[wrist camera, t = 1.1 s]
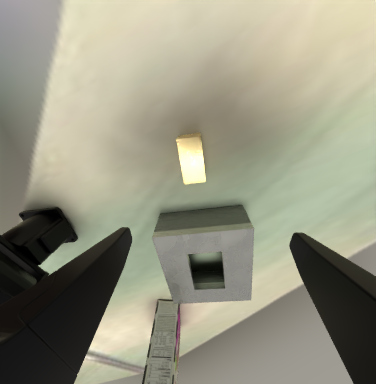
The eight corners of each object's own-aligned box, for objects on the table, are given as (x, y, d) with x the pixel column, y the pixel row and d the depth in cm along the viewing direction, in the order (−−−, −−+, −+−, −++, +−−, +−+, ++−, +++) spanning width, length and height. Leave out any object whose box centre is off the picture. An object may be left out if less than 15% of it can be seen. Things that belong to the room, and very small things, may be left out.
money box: (177, 275, 30) (174, 303, 26) (160, 213, 24) (152, 237, 19) (242, 270, 29) (251, 300, 24) (242, 205, 22) (253, 228, 18)
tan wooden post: (185, 175, 21) (184, 184, 18) (178, 135, 19) (176, 139, 16) (204, 172, 21) (205, 181, 18) (199, 132, 18) (200, 136, 16)
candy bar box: (181, 326, 39) (173, 457, 24) (161, 325, 39) (141, 454, 24) (180, 299, 34) (170, 444, 19) (157, 298, 34) (128, 441, 19)
